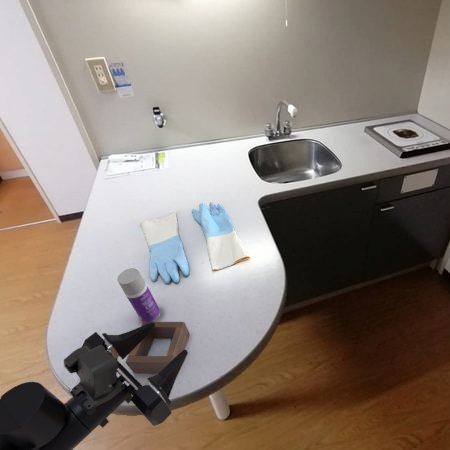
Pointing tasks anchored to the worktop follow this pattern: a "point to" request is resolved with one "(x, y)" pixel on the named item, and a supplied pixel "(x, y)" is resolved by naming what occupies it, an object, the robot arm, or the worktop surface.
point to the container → (139, 295)
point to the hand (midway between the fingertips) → (169, 336)
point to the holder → (138, 355)
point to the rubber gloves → (173, 247)
